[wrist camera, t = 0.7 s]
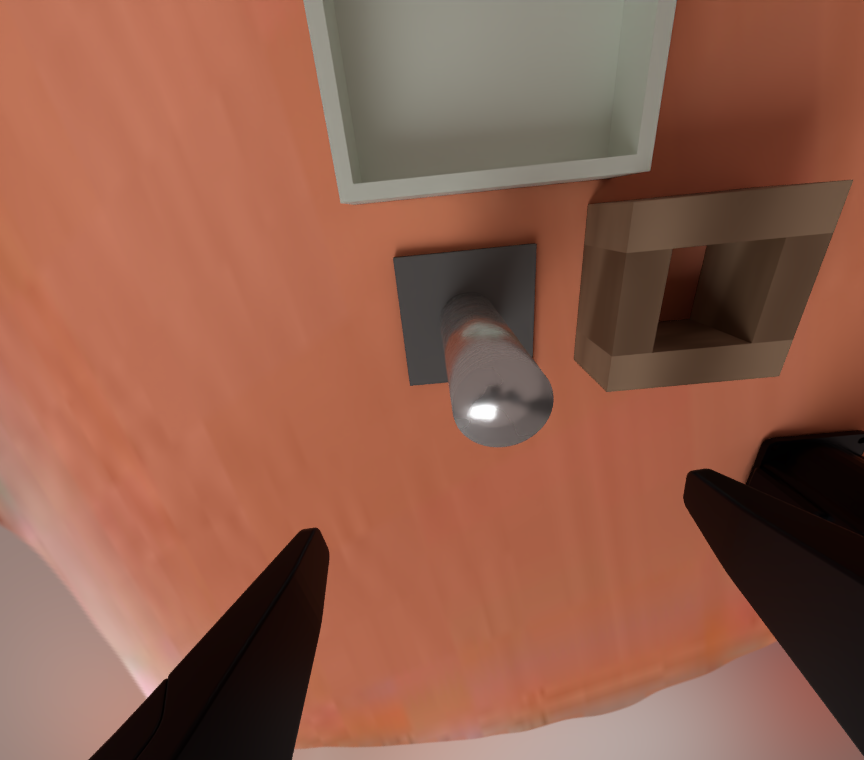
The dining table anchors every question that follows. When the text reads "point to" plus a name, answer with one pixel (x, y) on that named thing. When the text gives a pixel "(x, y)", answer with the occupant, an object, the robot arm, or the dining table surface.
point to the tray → (487, 92)
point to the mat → (455, 274)
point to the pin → (491, 375)
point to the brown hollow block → (701, 283)
